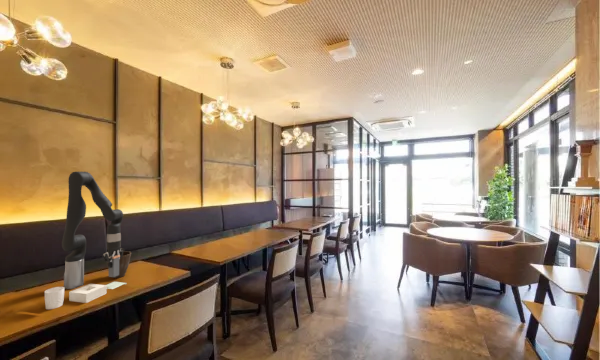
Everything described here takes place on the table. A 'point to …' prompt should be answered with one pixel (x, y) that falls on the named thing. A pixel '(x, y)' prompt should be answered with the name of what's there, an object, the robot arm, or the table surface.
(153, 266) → the table surface
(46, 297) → the white cup
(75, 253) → the robot arm
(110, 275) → the plug
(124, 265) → the plant pot
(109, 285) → the mat
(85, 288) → the block
